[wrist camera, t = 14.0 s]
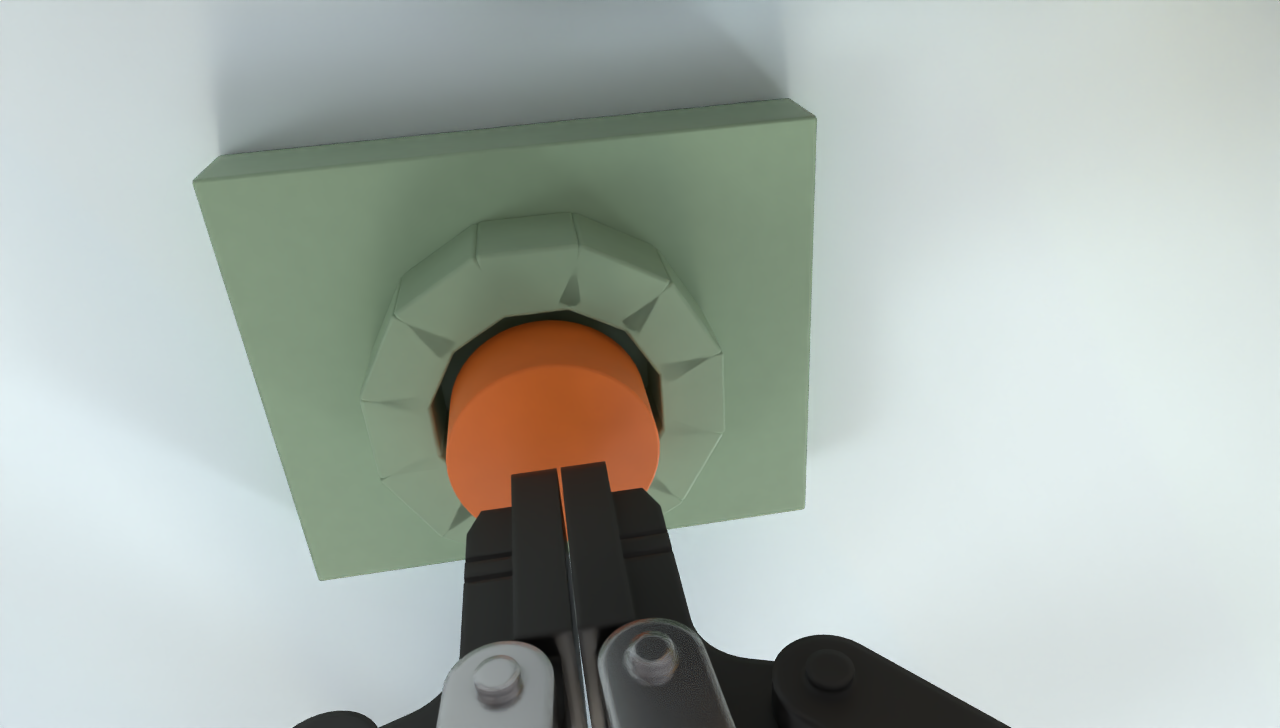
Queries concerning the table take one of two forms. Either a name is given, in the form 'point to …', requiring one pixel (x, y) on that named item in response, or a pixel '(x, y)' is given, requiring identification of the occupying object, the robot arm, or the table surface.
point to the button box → (522, 304)
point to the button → (547, 412)
